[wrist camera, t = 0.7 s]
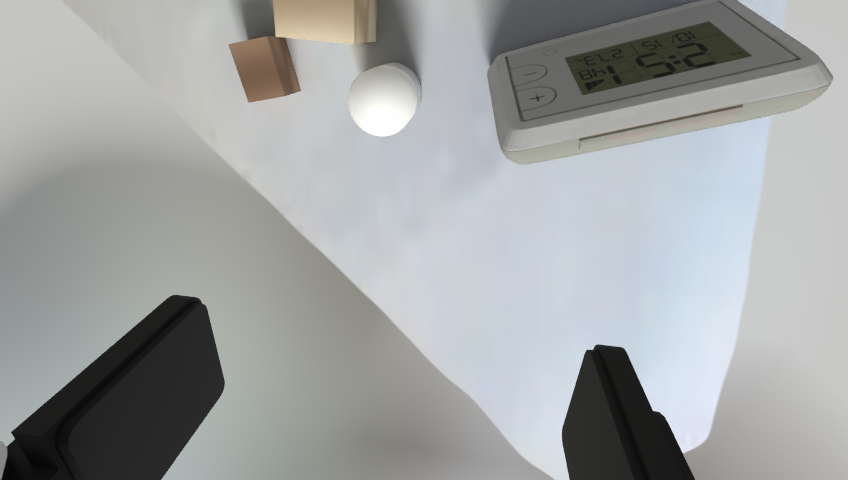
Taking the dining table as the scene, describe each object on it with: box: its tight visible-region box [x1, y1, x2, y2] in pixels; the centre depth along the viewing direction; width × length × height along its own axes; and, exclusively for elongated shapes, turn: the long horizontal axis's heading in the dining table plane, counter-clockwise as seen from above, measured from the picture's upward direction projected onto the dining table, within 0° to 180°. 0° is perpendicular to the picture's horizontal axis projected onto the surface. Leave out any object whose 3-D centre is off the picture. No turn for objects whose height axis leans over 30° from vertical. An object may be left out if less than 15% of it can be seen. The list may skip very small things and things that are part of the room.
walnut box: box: [229, 36, 301, 102], centre depth 31 cm, size 4×3×3 cm
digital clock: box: [487, 0, 833, 164], centre depth 25 cm, size 16×9×11 cm, turn 93°
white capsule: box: [348, 63, 422, 136], centre depth 30 cm, size 4×4×5 cm
